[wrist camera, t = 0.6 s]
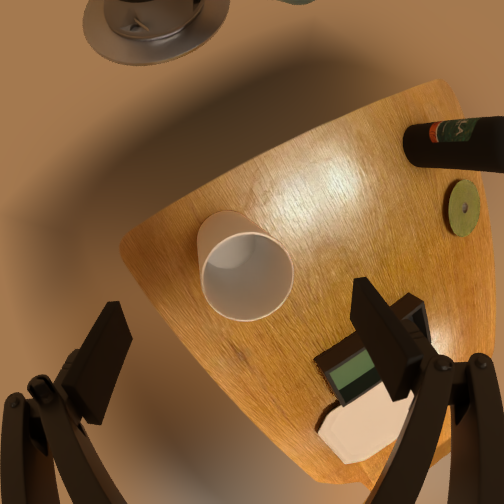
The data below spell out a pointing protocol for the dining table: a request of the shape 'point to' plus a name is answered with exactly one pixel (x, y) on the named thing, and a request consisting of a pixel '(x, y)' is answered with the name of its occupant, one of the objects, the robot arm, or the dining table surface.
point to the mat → (464, 208)
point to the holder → (364, 355)
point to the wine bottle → (457, 144)
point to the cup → (242, 267)
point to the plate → (364, 425)
